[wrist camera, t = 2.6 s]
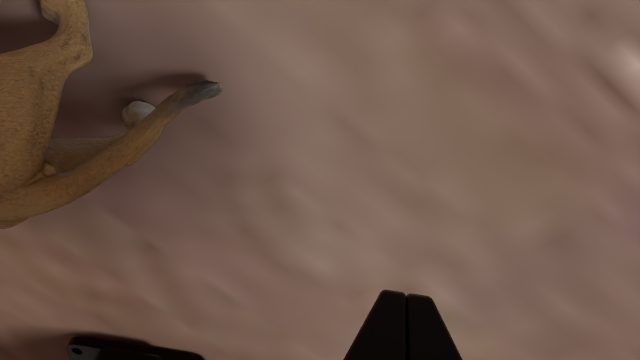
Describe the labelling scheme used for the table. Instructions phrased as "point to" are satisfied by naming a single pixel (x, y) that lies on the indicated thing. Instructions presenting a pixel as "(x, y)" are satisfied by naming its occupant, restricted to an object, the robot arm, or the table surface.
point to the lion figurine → (40, 116)
